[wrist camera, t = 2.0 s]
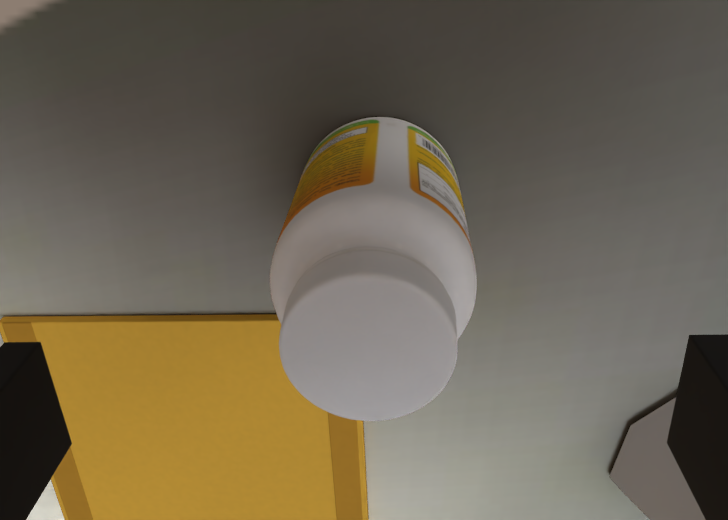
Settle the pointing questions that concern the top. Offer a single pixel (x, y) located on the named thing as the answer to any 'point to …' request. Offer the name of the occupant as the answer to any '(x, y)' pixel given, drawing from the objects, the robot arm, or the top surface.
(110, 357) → the yellow tray
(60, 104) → the top surface
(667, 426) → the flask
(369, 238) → the supplement bottle
